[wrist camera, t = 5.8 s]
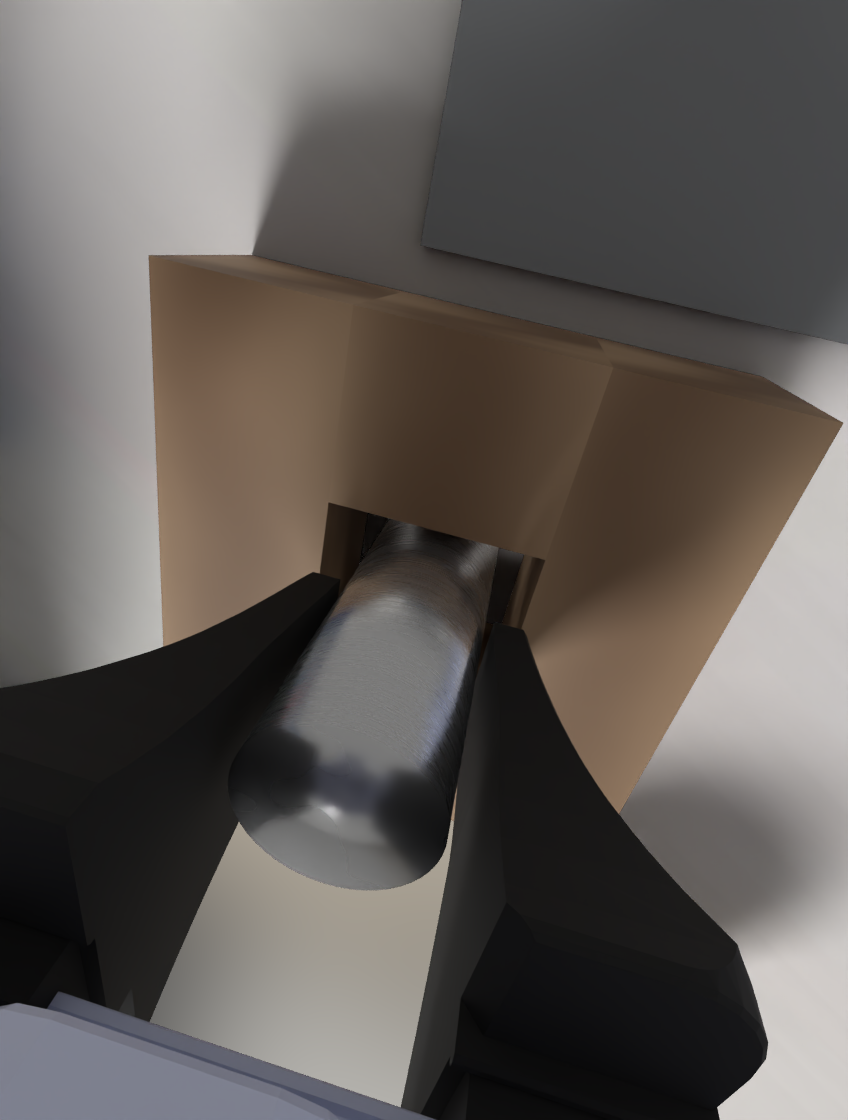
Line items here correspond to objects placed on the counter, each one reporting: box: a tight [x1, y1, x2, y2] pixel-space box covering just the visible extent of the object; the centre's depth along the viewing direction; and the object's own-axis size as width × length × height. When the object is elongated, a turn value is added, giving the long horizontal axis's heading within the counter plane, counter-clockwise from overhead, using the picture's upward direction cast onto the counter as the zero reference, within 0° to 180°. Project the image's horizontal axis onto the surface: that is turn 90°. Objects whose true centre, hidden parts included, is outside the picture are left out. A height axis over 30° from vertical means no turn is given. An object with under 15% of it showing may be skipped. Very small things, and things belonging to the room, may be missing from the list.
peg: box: [228, 519, 499, 890], centre depth 11 cm, size 3×3×9 cm
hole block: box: [149, 255, 843, 821], centre depth 14 cm, size 12×12×4 cm
